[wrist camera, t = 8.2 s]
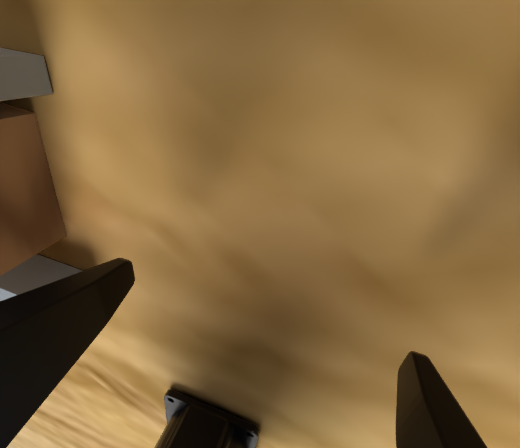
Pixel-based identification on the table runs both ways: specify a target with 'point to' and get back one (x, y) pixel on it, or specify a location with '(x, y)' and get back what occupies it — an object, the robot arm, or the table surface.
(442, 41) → the table surface
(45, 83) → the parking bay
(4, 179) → the block
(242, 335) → the table surface
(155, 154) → the table surface
